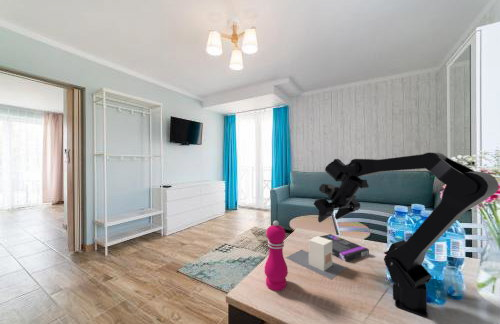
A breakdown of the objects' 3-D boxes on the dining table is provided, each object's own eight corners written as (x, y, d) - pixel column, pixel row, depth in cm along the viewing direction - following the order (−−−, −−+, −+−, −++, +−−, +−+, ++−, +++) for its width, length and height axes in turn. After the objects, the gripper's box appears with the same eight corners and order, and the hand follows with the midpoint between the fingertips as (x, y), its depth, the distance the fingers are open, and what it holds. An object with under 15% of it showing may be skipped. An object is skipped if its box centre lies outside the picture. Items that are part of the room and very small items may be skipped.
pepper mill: (274, 295, 56) (274, 225, 56) (259, 282, 62) (259, 219, 62) (292, 286, 60) (292, 221, 60) (277, 275, 66) (276, 216, 66)
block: (332, 265, 72) (332, 240, 72) (323, 271, 68) (323, 245, 68) (317, 259, 76) (317, 236, 76) (308, 264, 72) (308, 240, 72)
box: (369, 257, 80) (330, 239, 98) (369, 248, 80) (330, 232, 97) (346, 265, 74) (309, 244, 91) (346, 255, 74) (309, 237, 91)
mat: (346, 268, 70) (346, 267, 70) (331, 280, 63) (331, 279, 63) (301, 250, 84) (301, 249, 84) (285, 258, 77) (285, 257, 77)
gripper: (347, 175, 79) (330, 203, 87) (313, 176, 71) (297, 207, 79) (370, 193, 71) (349, 222, 79) (334, 198, 63) (314, 230, 70)
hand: (327, 220), depth 77 cm, fingers open, 9 cm apart
